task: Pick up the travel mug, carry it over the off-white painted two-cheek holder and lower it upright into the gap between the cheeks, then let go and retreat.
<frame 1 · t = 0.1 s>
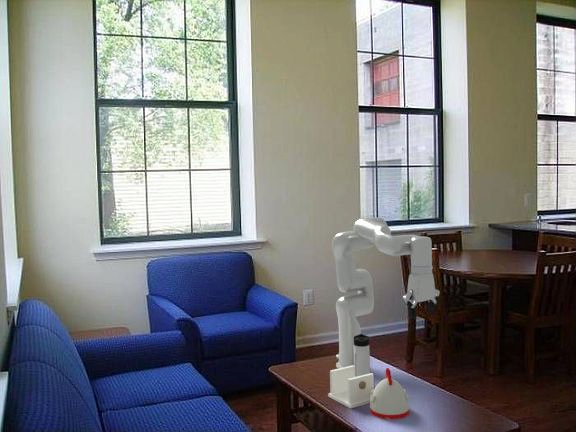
hand: (422, 316, 211), 31 cm above the table, fingers open, 9 cm apart
kitchen timer: (389, 412, 202), on the table
travel mug: (362, 385, 228), on the table
holder: (352, 398, 214), on the table
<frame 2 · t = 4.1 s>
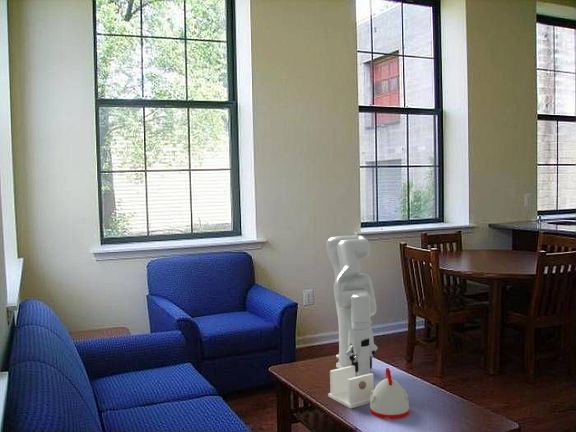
hand: (361, 368, 228), 7 cm above the table, fingers closed on travel mug, 6 cm apart
travel mug: (362, 385, 228), on the table, touching gripper
everything else where it was.
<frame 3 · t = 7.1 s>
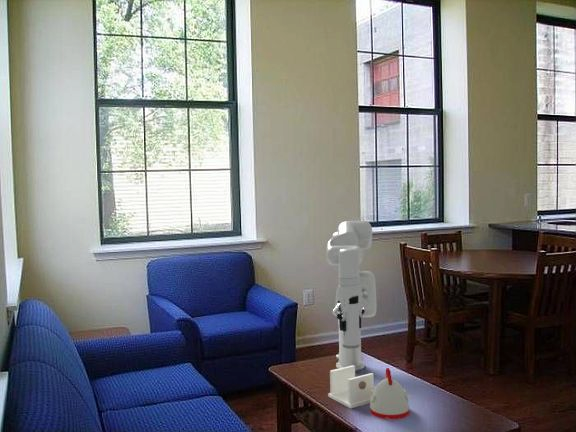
hand: (350, 328, 213), 27 cm above the table, fingers closed on travel mug, 6 cm apart
travel mug: (351, 346, 213), point 20 cm above the table, touching gripper
everything else where it was.
when the fingers open (10 cm above the table, at t = 10.4 s): travel mug drops 2 cm, resting on holder.
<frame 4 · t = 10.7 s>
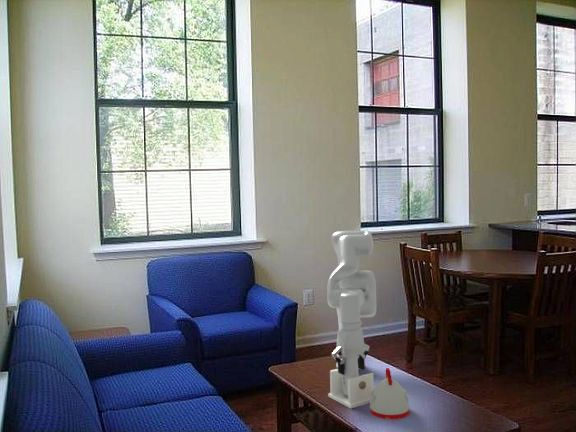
hand: (351, 371, 214), 11 cm above the table, fingers open, 8 cm apart
travel mug: (351, 395, 214), point 1 cm above the table, touching holder
everything else where it was.
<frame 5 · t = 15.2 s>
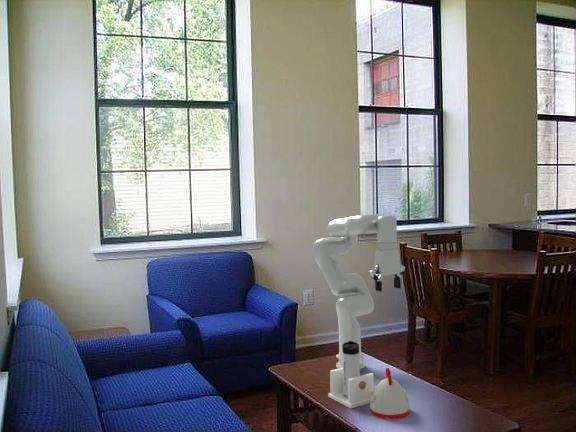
hand: (388, 289, 227), 38 cm above the table, fingers open, 9 cm apart
at the end: travel mug inside the target area on the holder (0.2 cm from its centre), point 1.0 cm above the holder's base; travel mug tilted 0°; the gripper is holding nothing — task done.
